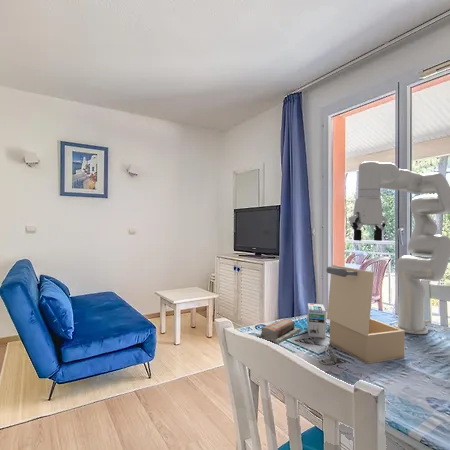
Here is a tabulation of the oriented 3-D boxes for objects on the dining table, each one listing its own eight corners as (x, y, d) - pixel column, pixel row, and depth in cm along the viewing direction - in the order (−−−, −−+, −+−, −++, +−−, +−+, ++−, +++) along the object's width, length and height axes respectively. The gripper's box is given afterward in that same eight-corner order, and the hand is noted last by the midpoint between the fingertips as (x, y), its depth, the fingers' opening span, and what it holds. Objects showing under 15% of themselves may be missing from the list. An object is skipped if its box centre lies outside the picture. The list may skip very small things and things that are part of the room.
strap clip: (324, 366, 98) (324, 353, 98) (318, 362, 101) (318, 349, 101) (346, 363, 101) (347, 350, 101) (340, 359, 104) (340, 346, 104)
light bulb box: (326, 338, 122) (326, 310, 122) (308, 336, 124) (308, 309, 124) (323, 329, 133) (323, 304, 133) (306, 328, 134) (307, 302, 134)
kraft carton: (363, 338, 122) (364, 315, 122) (404, 357, 106) (404, 330, 106) (329, 343, 117) (330, 319, 117) (366, 363, 100) (367, 335, 100)
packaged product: (279, 331, 116) (256, 325, 122) (278, 345, 116) (256, 338, 122) (301, 320, 130) (279, 315, 136) (300, 332, 130) (279, 327, 136)
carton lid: (334, 264, 118) (316, 263, 115) (373, 272, 100) (354, 271, 98) (329, 318, 118) (311, 318, 115) (368, 335, 100) (348, 336, 97)
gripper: (378, 196, 125) (377, 240, 125) (343, 194, 119) (342, 239, 120) (394, 195, 118) (393, 241, 118) (357, 192, 112) (356, 241, 112)
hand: (367, 240), depth 119 cm, fingers open, 9 cm apart
